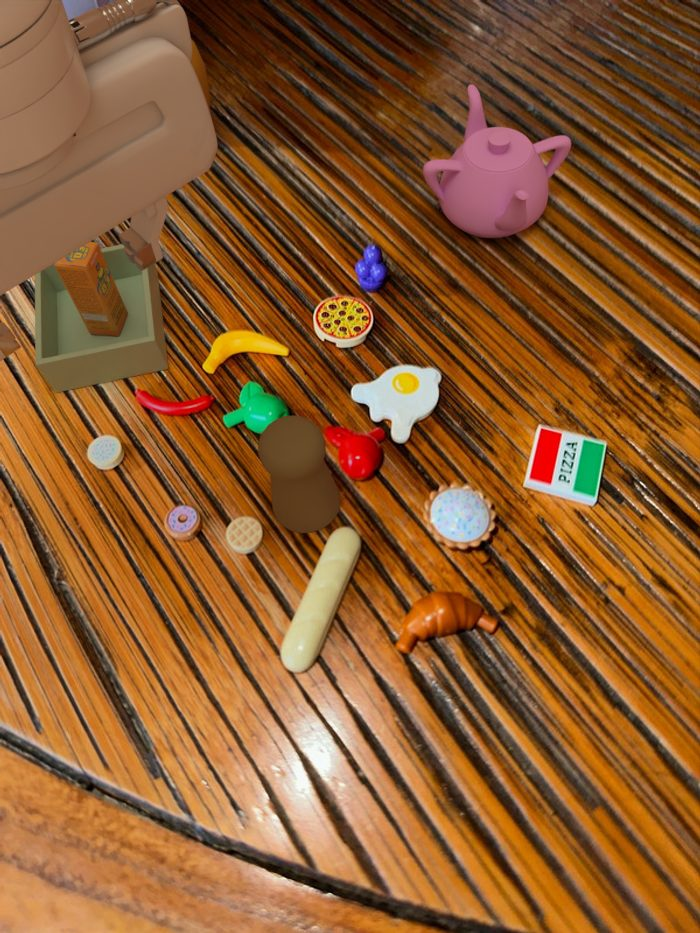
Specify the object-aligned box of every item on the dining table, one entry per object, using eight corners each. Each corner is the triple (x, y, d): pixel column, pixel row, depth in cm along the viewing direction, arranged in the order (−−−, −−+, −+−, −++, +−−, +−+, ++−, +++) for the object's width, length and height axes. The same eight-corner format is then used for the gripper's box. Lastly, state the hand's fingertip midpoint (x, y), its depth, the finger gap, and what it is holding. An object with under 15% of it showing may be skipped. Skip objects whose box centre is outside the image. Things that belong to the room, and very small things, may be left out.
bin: (168, 369, 75) (155, 339, 70) (55, 393, 74) (35, 364, 70) (157, 271, 81) (144, 239, 77) (53, 292, 80) (34, 261, 76)
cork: (307, 546, 64) (289, 487, 55) (257, 504, 67) (232, 440, 57) (355, 498, 66) (345, 432, 57) (305, 459, 69) (288, 389, 59)
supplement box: (122, 338, 76) (84, 267, 67) (90, 335, 76) (48, 264, 68) (132, 312, 78) (97, 240, 69) (100, 309, 78) (61, 237, 69)
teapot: (515, 266, 78) (526, 198, 70) (404, 213, 83) (403, 144, 75) (574, 197, 82) (591, 125, 74) (465, 150, 87) (470, 78, 79)
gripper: (134, -57, 35) (190, 184, 47) (-317, 149, 28) (-117, 369, 40) (220, 1, 33) (255, 239, 45) (-247, 239, 26) (-57, 443, 38)
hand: (77, 302), depth 43 cm, fingers open, 8 cm apart
